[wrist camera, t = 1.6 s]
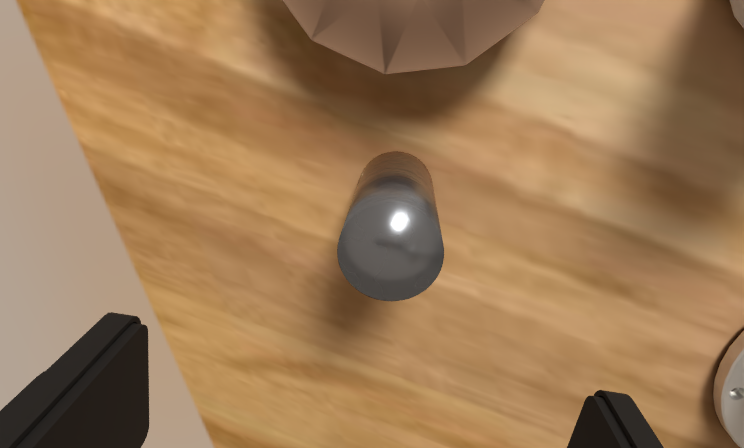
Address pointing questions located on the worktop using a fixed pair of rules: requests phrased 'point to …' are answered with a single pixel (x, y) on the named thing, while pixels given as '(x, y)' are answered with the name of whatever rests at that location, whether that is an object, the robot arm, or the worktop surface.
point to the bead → (411, 29)
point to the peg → (392, 230)
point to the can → (738, 10)
